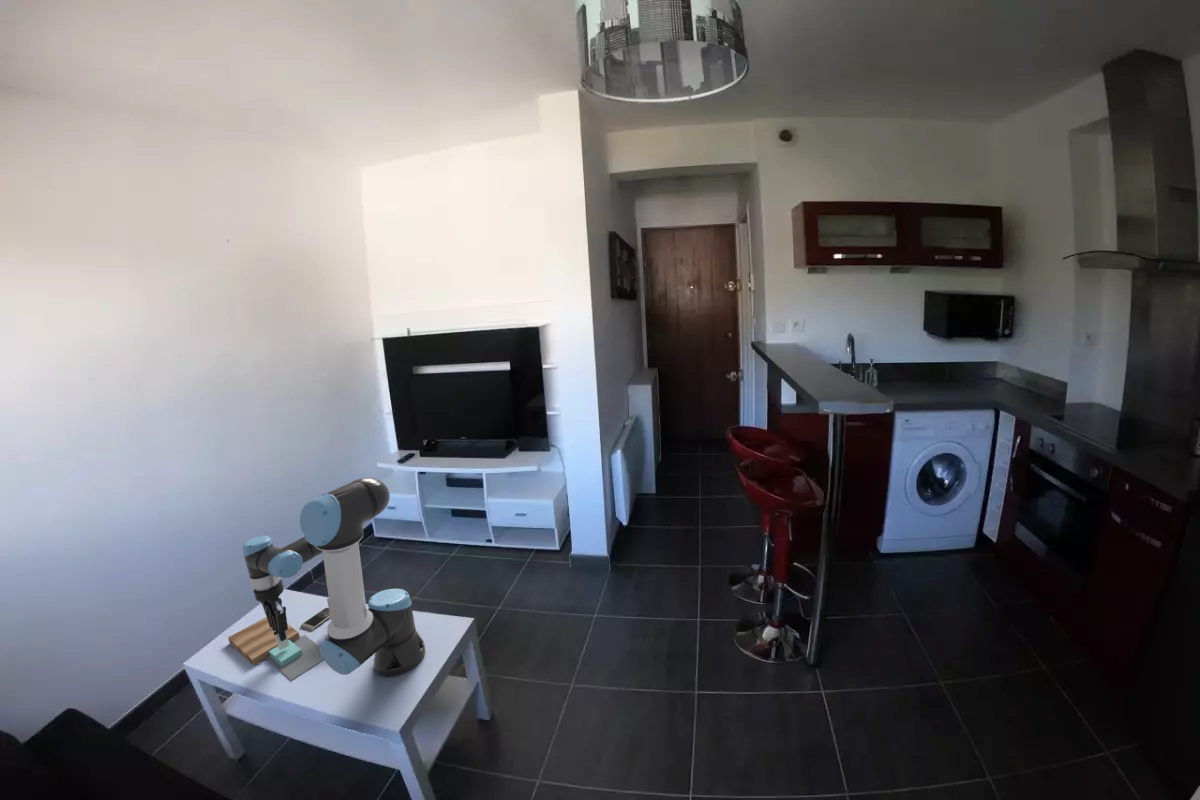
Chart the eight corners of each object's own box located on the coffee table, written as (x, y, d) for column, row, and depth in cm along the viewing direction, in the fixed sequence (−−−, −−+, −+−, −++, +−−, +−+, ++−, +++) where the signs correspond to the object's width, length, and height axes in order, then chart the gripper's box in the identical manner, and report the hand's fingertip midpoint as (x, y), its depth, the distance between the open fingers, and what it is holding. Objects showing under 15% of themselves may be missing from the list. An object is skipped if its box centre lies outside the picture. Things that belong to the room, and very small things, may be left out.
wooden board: (300, 638, 162) (298, 632, 161) (253, 666, 151) (252, 659, 150) (274, 619, 173) (273, 613, 172) (229, 643, 162) (227, 637, 161)
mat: (331, 655, 153) (330, 654, 153) (291, 681, 144) (291, 680, 144) (304, 635, 163) (304, 635, 163) (266, 658, 154) (265, 657, 154)
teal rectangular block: (302, 654, 154) (301, 649, 154) (282, 667, 149) (281, 661, 149) (290, 644, 159) (288, 639, 158) (270, 656, 154) (268, 651, 154)
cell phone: (339, 613, 175) (338, 609, 174) (311, 633, 165) (310, 629, 165) (327, 609, 177) (327, 606, 177) (299, 629, 167) (298, 625, 167)
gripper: (289, 583, 147) (305, 646, 153) (271, 572, 155) (287, 633, 160) (262, 597, 141) (280, 662, 147) (245, 584, 149) (262, 647, 154)
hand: (283, 647), depth 153 cm, fingers closed
